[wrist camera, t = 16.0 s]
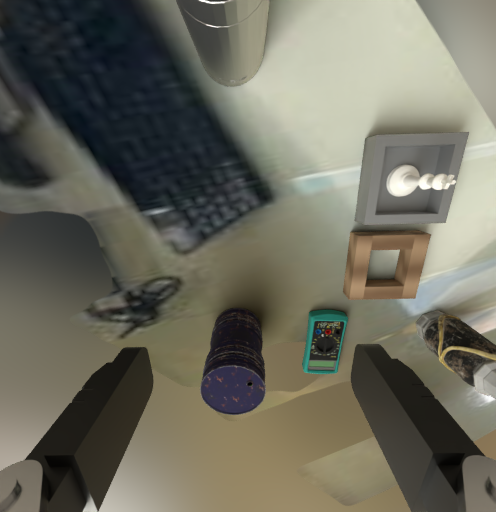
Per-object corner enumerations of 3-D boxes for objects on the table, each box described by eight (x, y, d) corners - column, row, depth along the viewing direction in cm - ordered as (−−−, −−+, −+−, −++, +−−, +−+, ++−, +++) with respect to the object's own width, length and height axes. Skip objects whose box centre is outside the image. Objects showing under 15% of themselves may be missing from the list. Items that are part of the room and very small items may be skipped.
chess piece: (422, 169, 37) (483, 167, 27) (407, 200, 38) (460, 207, 29) (395, 160, 36) (446, 154, 27) (380, 191, 38) (425, 196, 28)
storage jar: (229, 353, 50) (222, 423, 36) (204, 320, 47) (185, 382, 33) (269, 335, 48) (278, 400, 34) (246, 299, 46) (245, 354, 31)
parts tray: (365, 138, 36) (377, 134, 33) (448, 136, 36) (469, 132, 32) (354, 220, 40) (364, 224, 37) (429, 219, 40) (445, 222, 37)
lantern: (453, 334, 48) (650, 488, 24) (414, 346, 49) (567, 504, 25) (449, 301, 45) (666, 436, 22) (407, 313, 46) (572, 456, 23)
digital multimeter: (344, 308, 47) (350, 316, 44) (333, 365, 51) (338, 376, 49) (308, 307, 47) (312, 315, 44) (301, 364, 51) (303, 375, 49)
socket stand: (350, 232, 41) (357, 236, 38) (418, 230, 41) (430, 234, 38) (343, 291, 45) (349, 299, 42) (404, 290, 45) (415, 298, 42)
